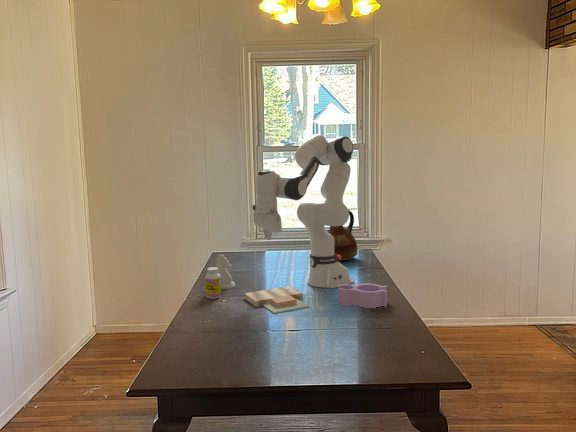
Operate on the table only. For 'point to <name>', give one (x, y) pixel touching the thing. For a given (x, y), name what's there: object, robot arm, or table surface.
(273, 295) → the beige flat block
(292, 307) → the mat
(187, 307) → the table surface
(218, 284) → the supplement bottle
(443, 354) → the table surface
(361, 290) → the clip
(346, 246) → the ceramic pitcher
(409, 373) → the table surface
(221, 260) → the chess piece
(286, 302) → the tile
